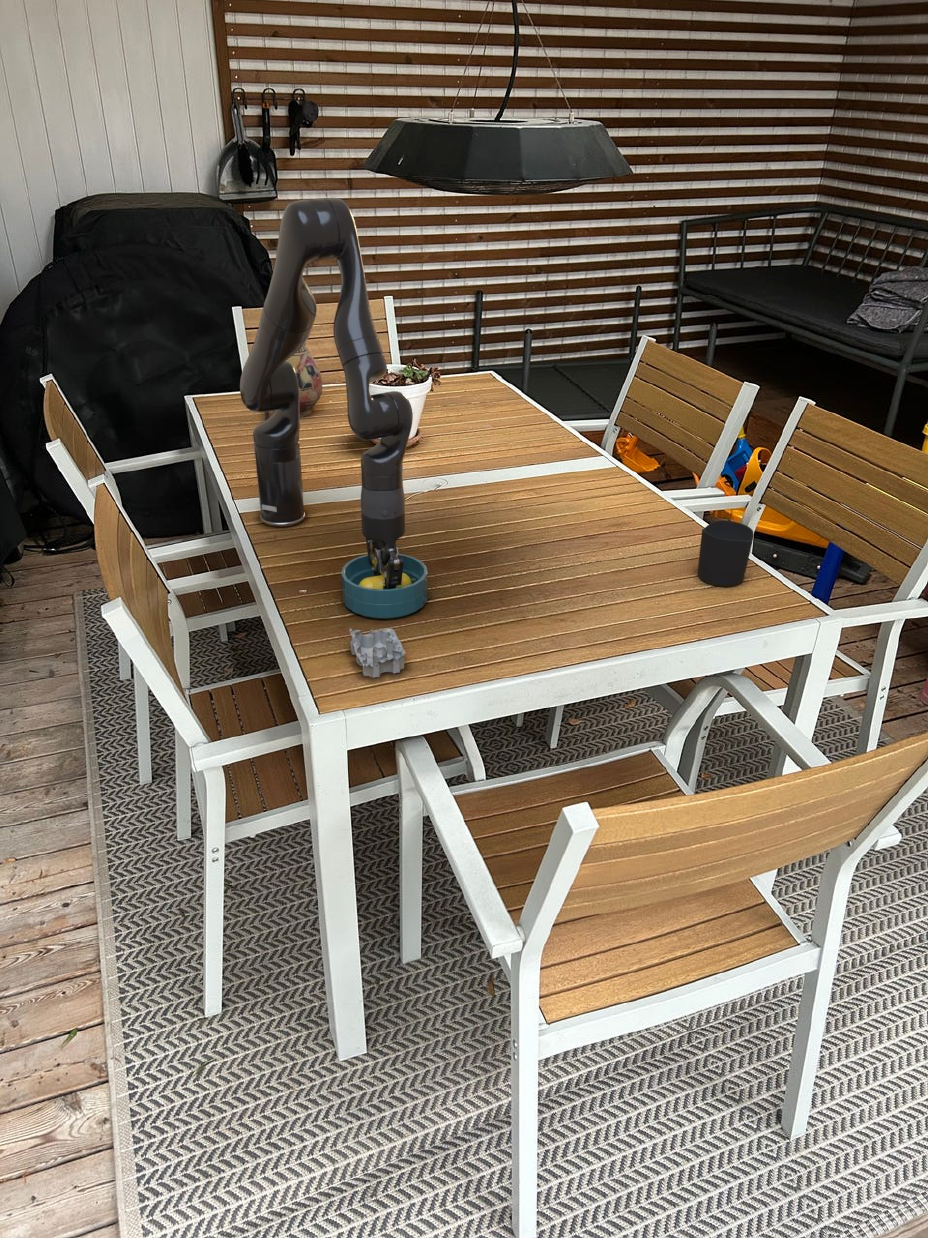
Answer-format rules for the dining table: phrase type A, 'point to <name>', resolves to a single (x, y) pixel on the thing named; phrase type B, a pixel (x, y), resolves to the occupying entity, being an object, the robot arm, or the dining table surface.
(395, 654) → the egg carton
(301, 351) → the ceramic jug
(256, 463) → the robot arm
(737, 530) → the pen holder
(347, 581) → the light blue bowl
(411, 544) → the dining table surface
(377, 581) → the squash
